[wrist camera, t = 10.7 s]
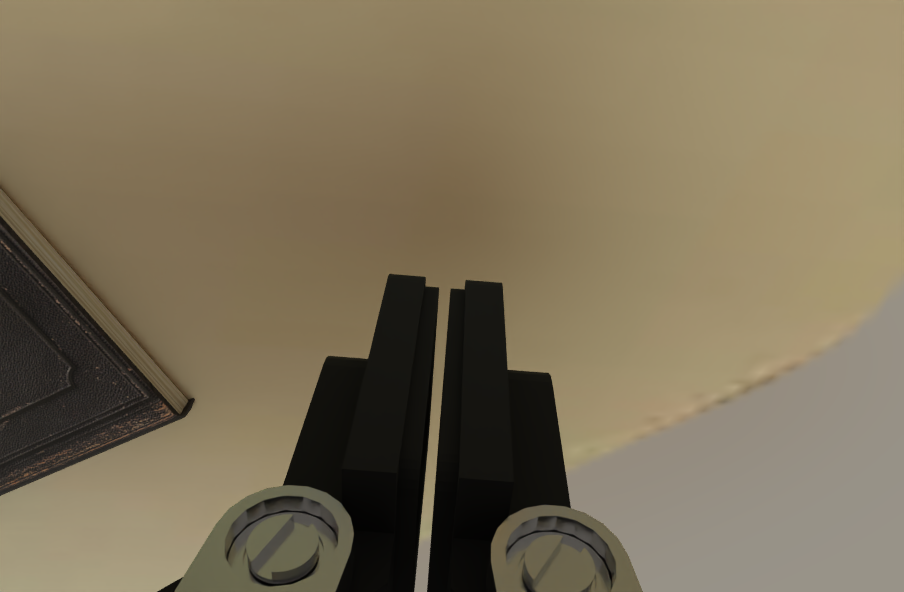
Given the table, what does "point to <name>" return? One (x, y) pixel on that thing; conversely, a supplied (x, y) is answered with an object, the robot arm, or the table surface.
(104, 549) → the table surface
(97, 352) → the hardcover book
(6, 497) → the table surface
